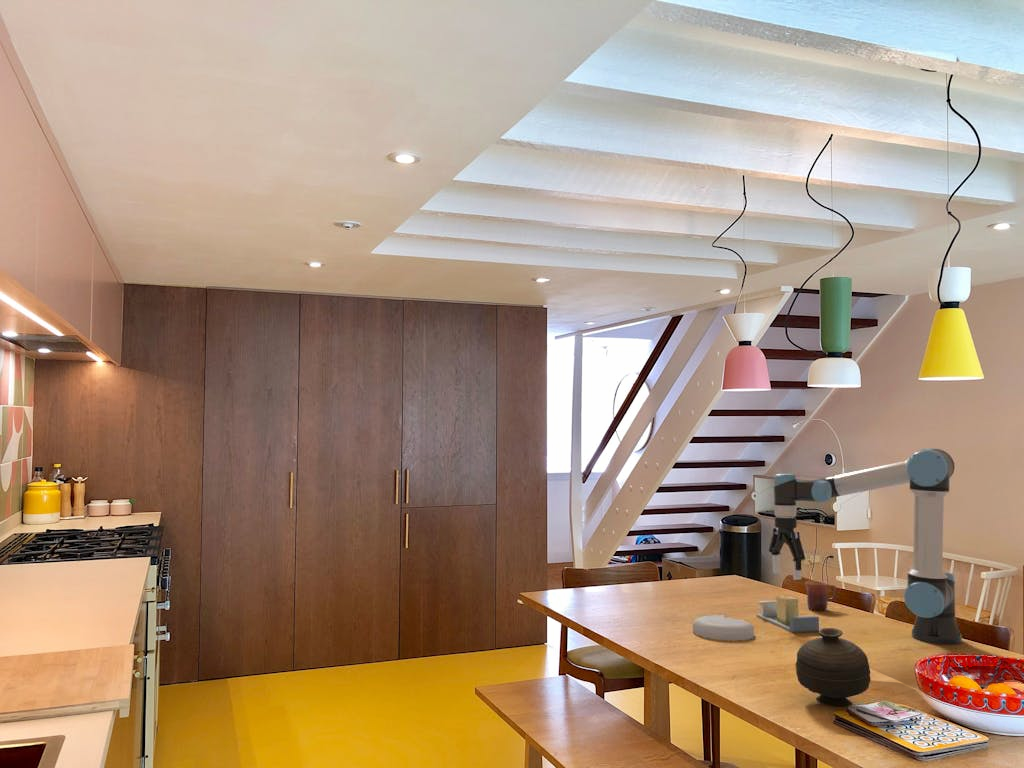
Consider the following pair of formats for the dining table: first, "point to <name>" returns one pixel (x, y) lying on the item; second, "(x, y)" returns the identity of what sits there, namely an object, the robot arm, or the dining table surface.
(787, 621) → the brass block
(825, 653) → the pot
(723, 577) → the dining table surface
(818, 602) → the mug
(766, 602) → the slide jaw
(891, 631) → the dining table surface
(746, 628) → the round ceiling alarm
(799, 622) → the vise body
